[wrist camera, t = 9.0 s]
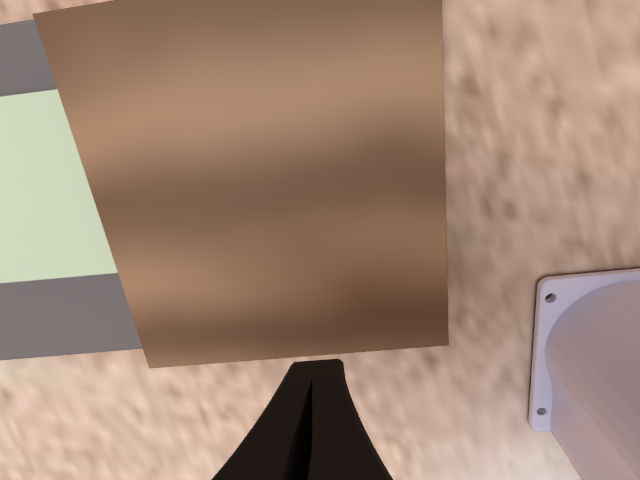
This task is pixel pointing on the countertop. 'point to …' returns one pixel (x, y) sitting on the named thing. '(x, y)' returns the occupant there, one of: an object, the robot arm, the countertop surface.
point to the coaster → (45, 196)
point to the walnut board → (264, 170)
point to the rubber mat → (59, 293)
